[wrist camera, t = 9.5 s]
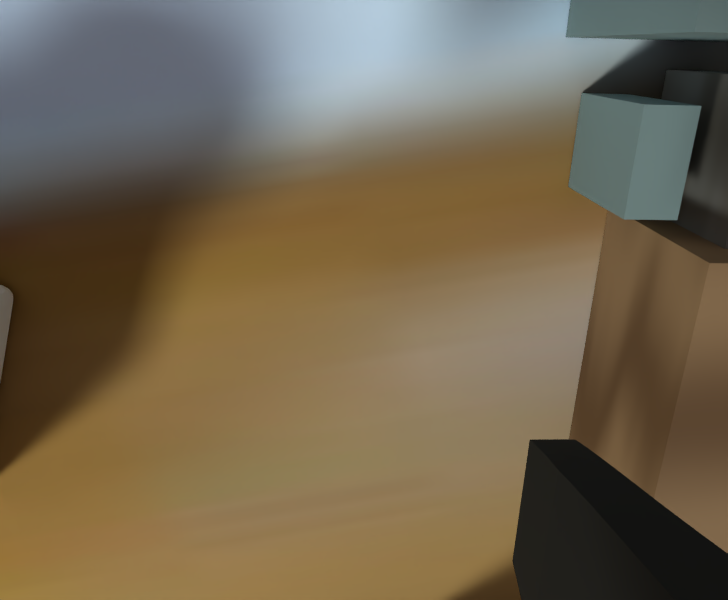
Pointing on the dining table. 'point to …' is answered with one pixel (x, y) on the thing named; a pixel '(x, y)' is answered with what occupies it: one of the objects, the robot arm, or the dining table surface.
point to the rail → (667, 334)
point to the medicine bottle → (4, 320)
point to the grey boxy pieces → (638, 111)
